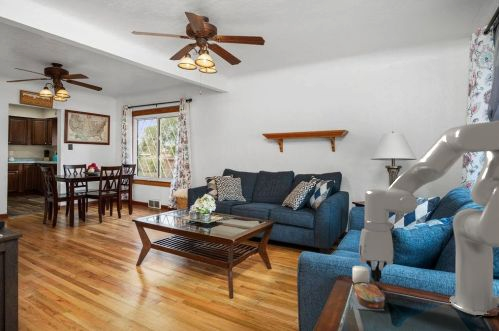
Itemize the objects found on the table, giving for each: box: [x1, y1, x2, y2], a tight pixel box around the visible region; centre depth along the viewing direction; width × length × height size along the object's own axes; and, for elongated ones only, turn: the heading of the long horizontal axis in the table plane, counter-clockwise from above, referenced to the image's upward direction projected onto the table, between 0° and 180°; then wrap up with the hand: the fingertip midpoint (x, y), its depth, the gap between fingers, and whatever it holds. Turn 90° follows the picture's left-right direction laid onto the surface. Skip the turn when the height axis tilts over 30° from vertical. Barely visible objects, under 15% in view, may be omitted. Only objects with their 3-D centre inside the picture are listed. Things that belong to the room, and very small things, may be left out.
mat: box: [350, 292, 385, 312], centre depth 99 cm, size 8×14×1 cm, turn 174°
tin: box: [352, 282, 386, 309], centre depth 99 cm, size 15×3×8 cm
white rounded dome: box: [351, 265, 370, 283], centre depth 111 cm, size 6×6×6 cm
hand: (375, 280), depth 98 cm, fingers closed
